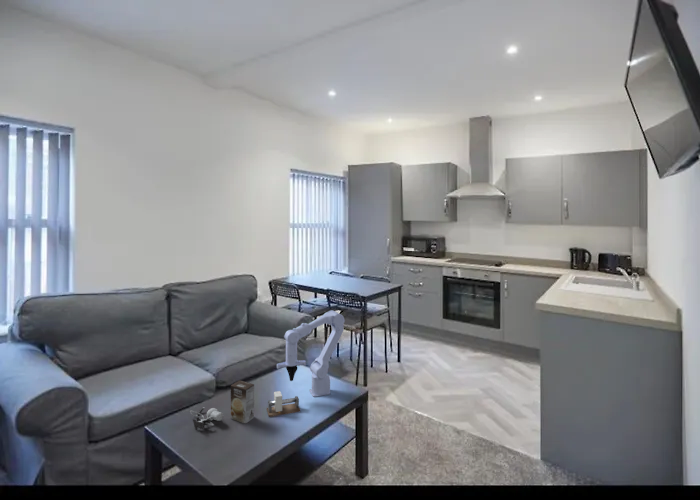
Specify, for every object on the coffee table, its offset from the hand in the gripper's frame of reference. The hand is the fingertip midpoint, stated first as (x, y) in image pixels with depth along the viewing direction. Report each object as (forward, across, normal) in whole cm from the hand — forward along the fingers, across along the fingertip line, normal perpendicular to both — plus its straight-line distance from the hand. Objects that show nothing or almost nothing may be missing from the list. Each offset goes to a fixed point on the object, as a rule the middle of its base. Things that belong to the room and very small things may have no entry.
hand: (291, 380), depth 191 cm
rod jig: (+10, +6, +10) cm, 16 cm away
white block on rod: (+8, +9, +10) cm, 16 cm away
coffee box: (+10, +25, +11) cm, 29 cm away
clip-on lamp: (+10, +41, +8) cm, 43 cm away
